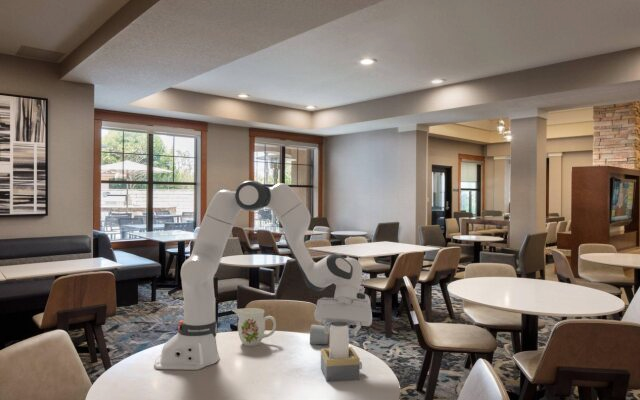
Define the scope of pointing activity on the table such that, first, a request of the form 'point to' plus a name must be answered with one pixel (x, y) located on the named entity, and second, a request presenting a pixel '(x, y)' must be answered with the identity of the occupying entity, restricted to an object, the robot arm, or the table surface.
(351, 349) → the drawer
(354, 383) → the table surface
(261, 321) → the pitcher
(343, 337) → the can
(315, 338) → the ceramic mug
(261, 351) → the table surface
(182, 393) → the table surface
